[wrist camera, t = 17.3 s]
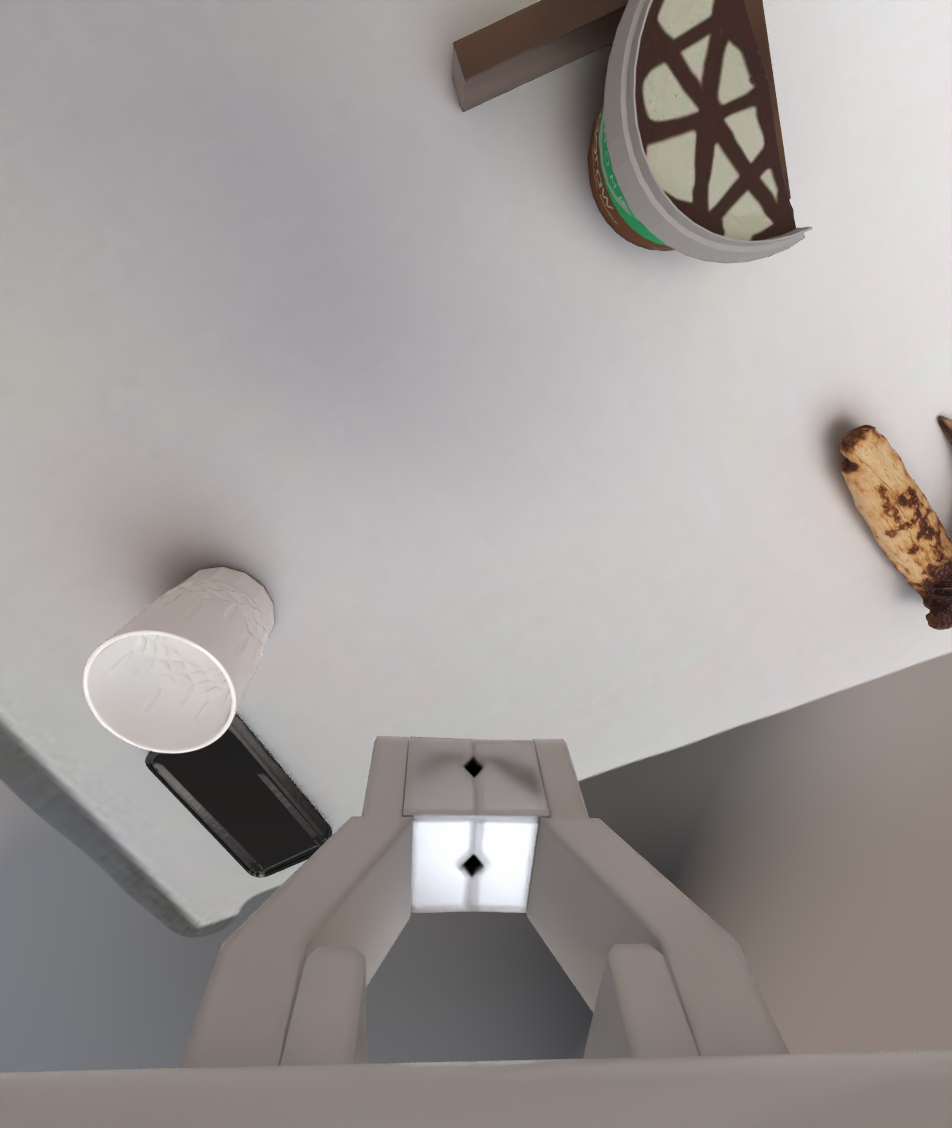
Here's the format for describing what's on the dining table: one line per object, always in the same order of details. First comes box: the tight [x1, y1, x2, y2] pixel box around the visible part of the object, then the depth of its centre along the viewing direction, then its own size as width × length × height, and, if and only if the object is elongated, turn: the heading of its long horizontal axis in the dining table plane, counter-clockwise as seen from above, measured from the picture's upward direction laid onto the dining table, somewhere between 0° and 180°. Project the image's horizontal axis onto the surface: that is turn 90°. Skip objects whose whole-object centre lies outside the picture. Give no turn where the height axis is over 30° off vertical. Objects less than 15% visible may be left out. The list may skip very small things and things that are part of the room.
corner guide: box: [452, 0, 791, 199], centre depth 29 cm, size 12×14×4 cm
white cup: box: [83, 567, 274, 753], centre depth 35 cm, size 8×8×10 cm
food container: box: [588, 0, 812, 263], centre depth 26 cm, size 12×6×10 cm, turn 26°
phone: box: [145, 716, 332, 878], centre depth 45 cm, size 8×1×15 cm
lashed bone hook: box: [840, 417, 952, 630], centre depth 37 cm, size 9×5×18 cm
